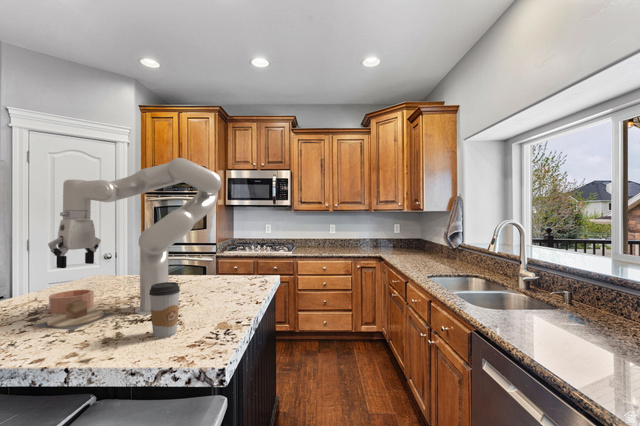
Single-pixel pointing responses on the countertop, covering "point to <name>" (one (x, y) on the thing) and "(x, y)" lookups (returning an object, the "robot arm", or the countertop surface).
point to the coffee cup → (164, 308)
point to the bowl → (69, 299)
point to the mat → (44, 325)
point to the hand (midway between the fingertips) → (76, 265)
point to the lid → (75, 315)
